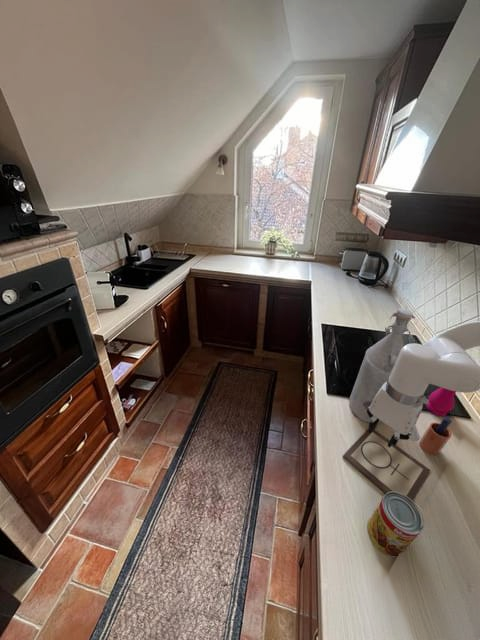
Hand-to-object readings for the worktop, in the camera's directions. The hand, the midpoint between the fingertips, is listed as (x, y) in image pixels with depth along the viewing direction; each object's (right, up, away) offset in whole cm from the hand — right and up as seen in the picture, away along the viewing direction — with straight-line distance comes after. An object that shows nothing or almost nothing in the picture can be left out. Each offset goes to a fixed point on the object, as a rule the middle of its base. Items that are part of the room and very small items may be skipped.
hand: (381, 436), depth 71 cm
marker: (+19, -7, +8) cm, 22 cm away
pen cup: (+19, -7, +8) cm, 22 cm away
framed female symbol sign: (+3, -10, +3) cm, 11 cm away
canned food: (-5, -18, -11) cm, 22 cm away
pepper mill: (+32, 0, +21) cm, 38 cm away
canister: (+7, +1, +22) cm, 23 cm away
